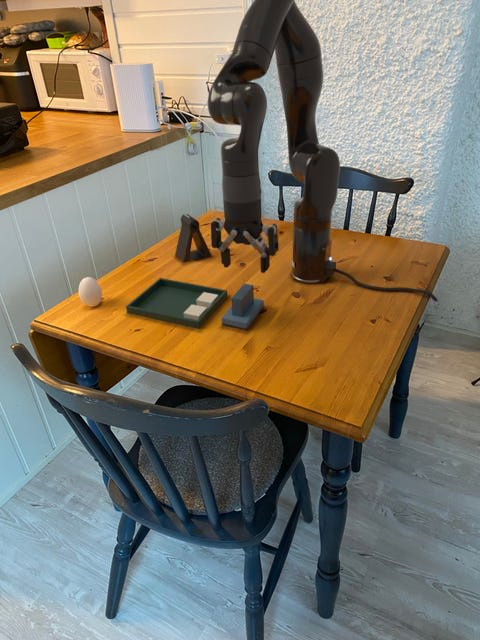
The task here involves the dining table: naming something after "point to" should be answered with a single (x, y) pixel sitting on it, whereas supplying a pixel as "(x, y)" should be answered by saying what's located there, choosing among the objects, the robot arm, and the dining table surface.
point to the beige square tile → (206, 299)
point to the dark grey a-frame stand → (185, 240)
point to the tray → (174, 302)
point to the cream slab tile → (194, 312)
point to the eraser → (243, 308)
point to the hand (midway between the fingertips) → (245, 268)
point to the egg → (90, 292)
